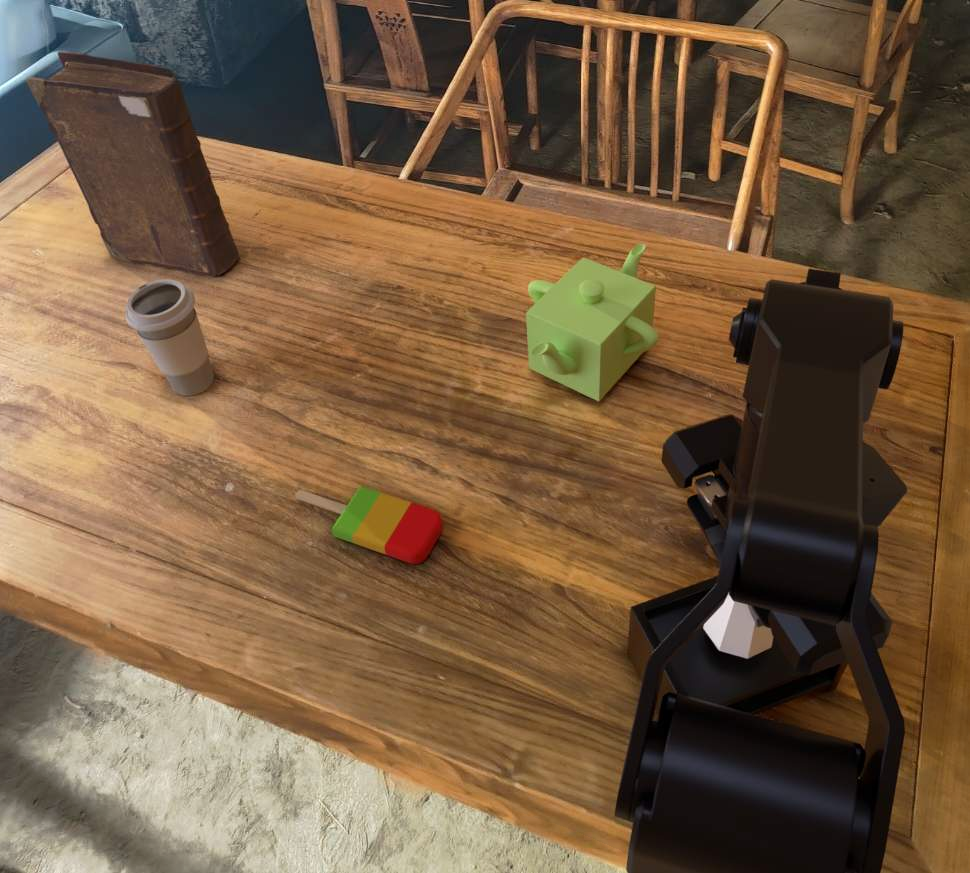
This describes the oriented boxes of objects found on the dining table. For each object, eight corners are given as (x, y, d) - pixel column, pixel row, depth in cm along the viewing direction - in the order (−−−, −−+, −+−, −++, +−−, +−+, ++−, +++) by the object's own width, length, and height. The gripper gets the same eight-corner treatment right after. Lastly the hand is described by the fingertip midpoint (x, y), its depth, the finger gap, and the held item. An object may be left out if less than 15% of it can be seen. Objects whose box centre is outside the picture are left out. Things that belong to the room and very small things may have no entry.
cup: (203, 350, 106) (168, 266, 96) (236, 377, 102) (203, 294, 93) (149, 383, 103) (108, 301, 93) (181, 413, 99) (142, 330, 90)
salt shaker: (767, 593, 71) (792, 506, 63) (784, 657, 68) (814, 573, 59) (696, 598, 71) (712, 511, 63) (710, 662, 68) (729, 578, 60)
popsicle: (422, 569, 84) (419, 558, 83) (283, 520, 89) (278, 508, 87) (448, 523, 87) (446, 511, 86) (313, 478, 92) (309, 466, 91)
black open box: (836, 689, 74) (857, 643, 68) (676, 751, 71) (685, 709, 66) (775, 598, 79) (791, 548, 74) (626, 653, 77) (630, 606, 71)
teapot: (639, 309, 105) (644, 232, 97) (679, 392, 96) (689, 315, 88) (507, 335, 103) (501, 259, 95) (535, 422, 95) (532, 346, 87)
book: (247, 256, 116) (183, 67, 98) (213, 291, 112) (140, 101, 94) (144, 229, 122) (65, 44, 103) (108, 261, 118) (19, 75, 99)
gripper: (1008, 539, 51) (926, 673, 62) (816, 328, 62) (778, 473, 74) (828, 606, 49) (779, 731, 60) (666, 375, 61) (651, 516, 72)
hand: (748, 600), depth 67 cm, fingers closed on salt shaker, 4 cm apart
